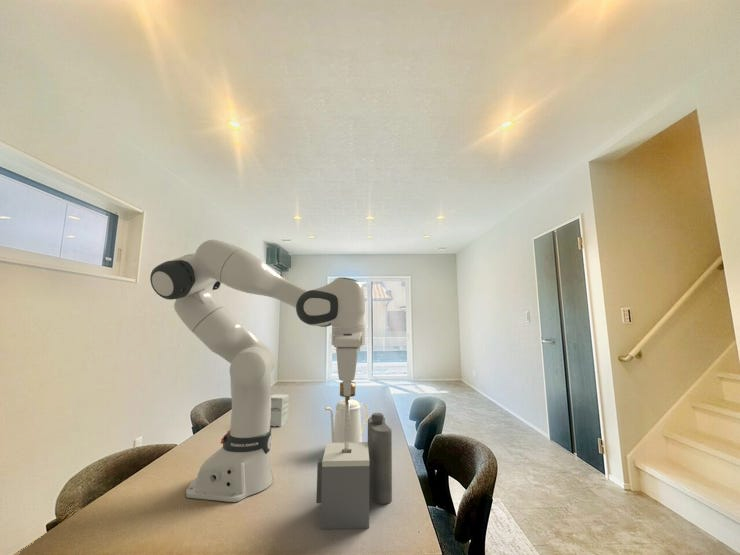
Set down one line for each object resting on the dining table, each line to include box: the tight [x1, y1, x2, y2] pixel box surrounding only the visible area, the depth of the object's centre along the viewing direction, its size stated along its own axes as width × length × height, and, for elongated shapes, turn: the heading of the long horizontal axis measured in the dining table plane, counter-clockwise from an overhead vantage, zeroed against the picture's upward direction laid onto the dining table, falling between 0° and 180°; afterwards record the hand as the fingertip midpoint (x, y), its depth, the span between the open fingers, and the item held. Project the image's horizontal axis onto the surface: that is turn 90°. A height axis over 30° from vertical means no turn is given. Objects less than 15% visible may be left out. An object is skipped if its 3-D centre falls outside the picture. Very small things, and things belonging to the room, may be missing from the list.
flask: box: [367, 412, 393, 505], centre depth 86 cm, size 15×6×20 cm, turn 7°
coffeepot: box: [322, 397, 369, 443], centre depth 112 cm, size 11×25×19 cm, turn 143°
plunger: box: [339, 381, 356, 453], centre depth 76 cm, size 7×7×25 cm
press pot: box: [315, 441, 370, 530], centre depth 74 cm, size 13×11×14 cm
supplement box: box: [270, 393, 290, 428], centre depth 140 cm, size 7×7×13 cm
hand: (347, 392), depth 78 cm, fingers closed on plunger, 4 cm apart
